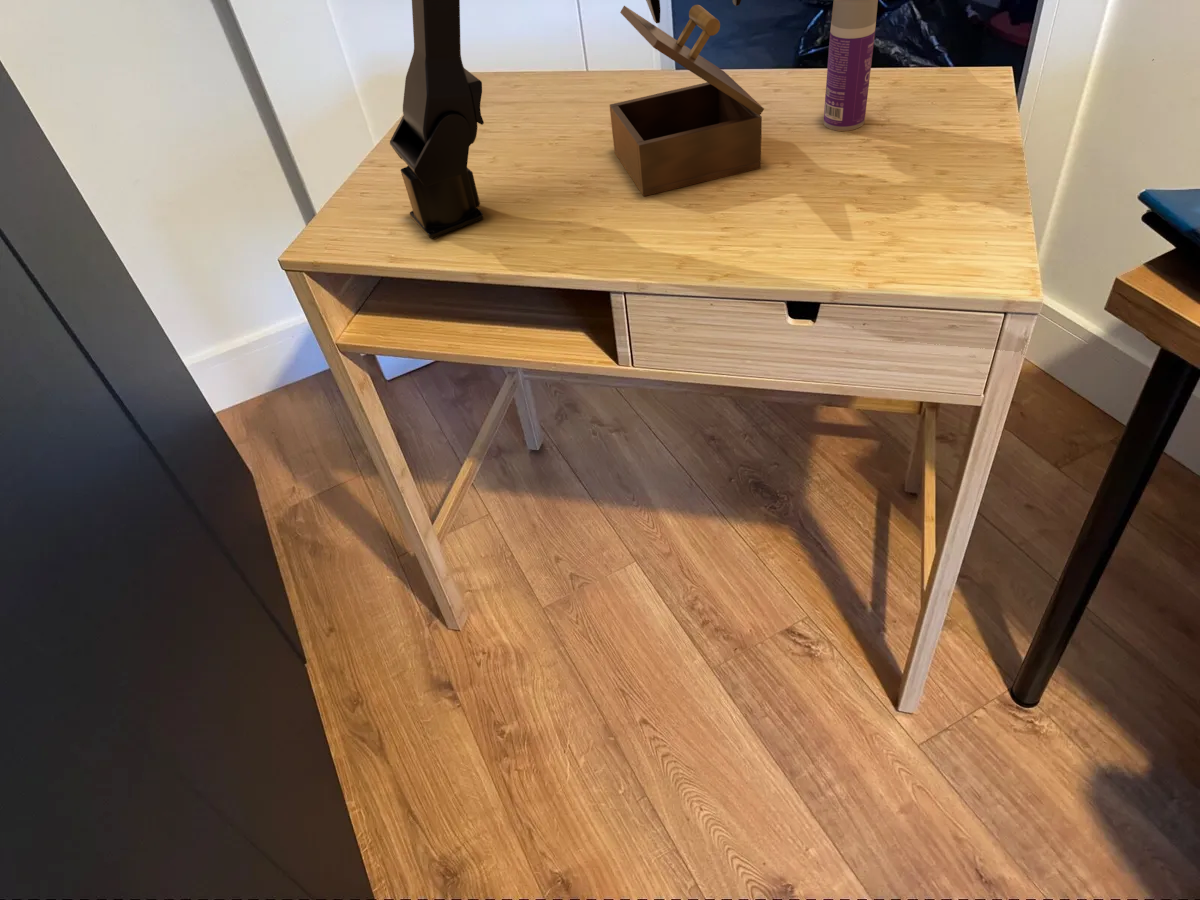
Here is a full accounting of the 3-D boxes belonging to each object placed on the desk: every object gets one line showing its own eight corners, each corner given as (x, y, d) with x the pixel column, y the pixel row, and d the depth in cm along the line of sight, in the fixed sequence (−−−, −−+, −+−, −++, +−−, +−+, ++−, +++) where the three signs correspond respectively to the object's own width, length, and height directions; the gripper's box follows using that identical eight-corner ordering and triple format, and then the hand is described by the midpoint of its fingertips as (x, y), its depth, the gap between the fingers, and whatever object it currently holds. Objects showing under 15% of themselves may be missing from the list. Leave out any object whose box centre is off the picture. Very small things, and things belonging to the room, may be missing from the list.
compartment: (643, 196, 89) (639, 145, 85) (614, 153, 97) (609, 104, 93) (760, 168, 90) (762, 116, 86) (722, 127, 98) (722, 78, 94)
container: (868, 128, 94) (885, -15, 83) (826, 133, 94) (838, -10, 84) (860, 111, 97) (875, -29, 87) (819, 115, 98) (830, -24, 87)
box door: (653, 47, 79) (682, -4, 76) (619, 12, 87) (645, -35, 84) (759, 115, 86) (789, 71, 84) (720, 77, 94) (746, 36, 92)
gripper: (750, -188, 86) (748, -23, 97) (578, -154, 84) (597, 10, 95) (794, -174, 78) (787, 3, 89) (606, -137, 76) (623, 40, 87)
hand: (696, 13), depth 90 cm, fingers open, 9 cm apart
